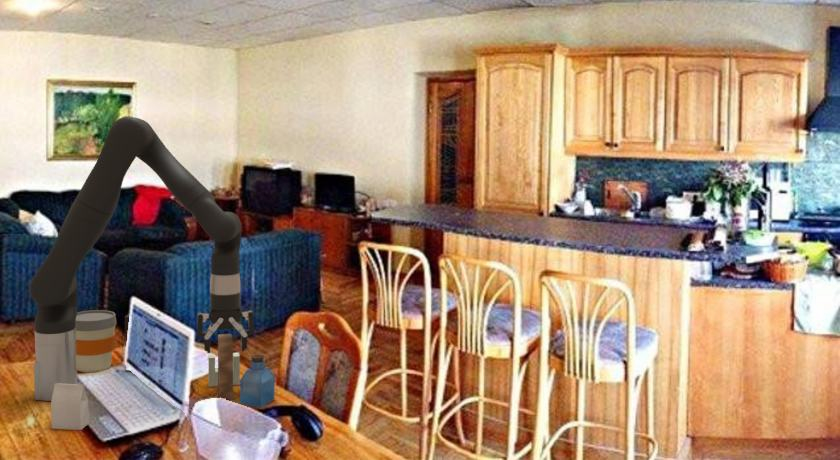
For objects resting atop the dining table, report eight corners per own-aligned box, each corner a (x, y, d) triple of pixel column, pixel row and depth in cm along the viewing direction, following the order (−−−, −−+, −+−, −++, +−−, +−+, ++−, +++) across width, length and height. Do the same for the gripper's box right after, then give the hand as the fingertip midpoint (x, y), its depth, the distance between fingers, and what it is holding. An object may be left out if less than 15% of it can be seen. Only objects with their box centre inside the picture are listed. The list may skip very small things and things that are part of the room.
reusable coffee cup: (86, 358, 212) (84, 308, 210) (126, 361, 211) (125, 311, 209) (59, 372, 200) (57, 319, 198) (101, 375, 198) (100, 322, 196)
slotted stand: (208, 386, 193) (208, 358, 192) (208, 382, 197) (208, 354, 195) (239, 384, 196) (239, 356, 195) (238, 380, 199) (238, 352, 198)
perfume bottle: (274, 399, 187) (274, 354, 185) (261, 407, 181) (261, 361, 179) (253, 395, 189) (253, 351, 187) (240, 403, 183) (240, 357, 181)
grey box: (80, 430, 164) (79, 388, 162) (51, 428, 164) (50, 386, 163) (88, 423, 167) (87, 382, 166) (60, 422, 168) (58, 380, 166)
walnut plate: (219, 400, 184) (219, 343, 182) (218, 389, 192) (218, 334, 190) (232, 399, 185) (233, 342, 183) (231, 388, 193) (231, 333, 191)
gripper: (196, 294, 179) (197, 357, 181) (255, 292, 183) (255, 354, 186) (196, 288, 186) (197, 348, 188) (252, 286, 190) (252, 345, 193)
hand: (225, 351), depth 187 cm, fingers open, 8 cm apart
